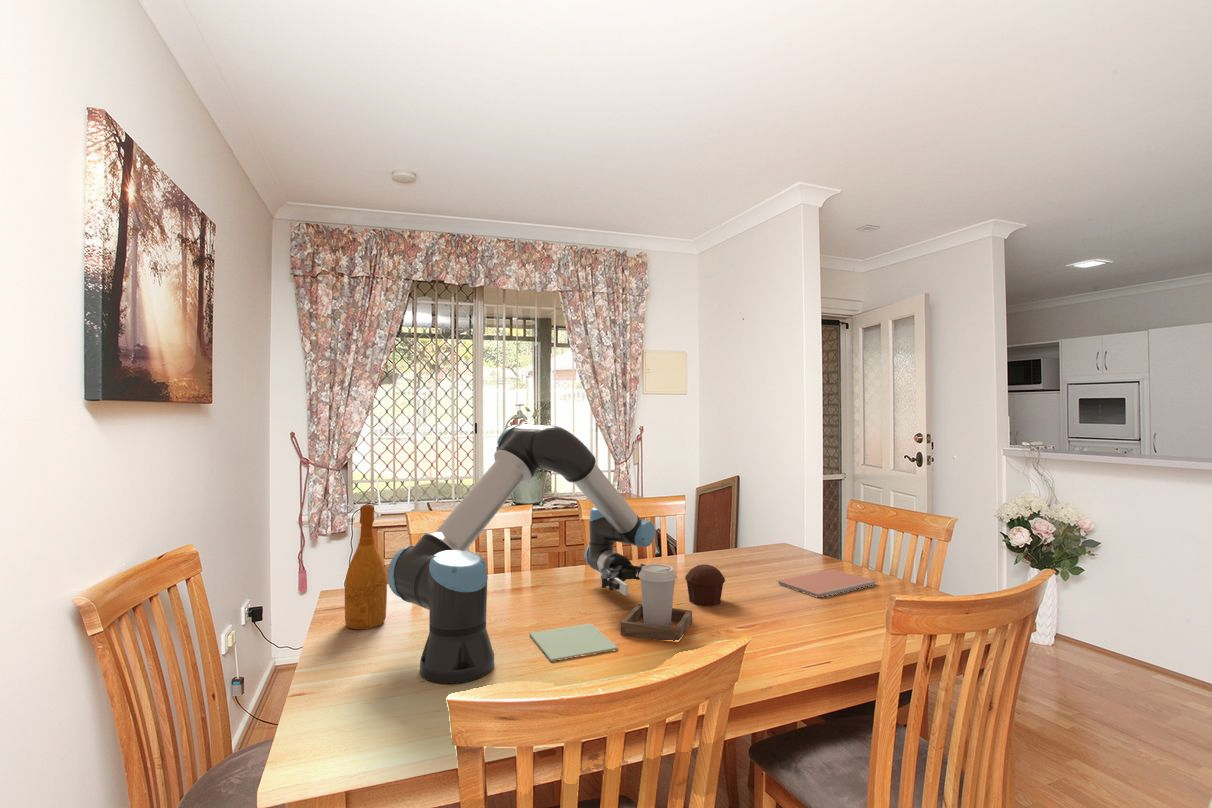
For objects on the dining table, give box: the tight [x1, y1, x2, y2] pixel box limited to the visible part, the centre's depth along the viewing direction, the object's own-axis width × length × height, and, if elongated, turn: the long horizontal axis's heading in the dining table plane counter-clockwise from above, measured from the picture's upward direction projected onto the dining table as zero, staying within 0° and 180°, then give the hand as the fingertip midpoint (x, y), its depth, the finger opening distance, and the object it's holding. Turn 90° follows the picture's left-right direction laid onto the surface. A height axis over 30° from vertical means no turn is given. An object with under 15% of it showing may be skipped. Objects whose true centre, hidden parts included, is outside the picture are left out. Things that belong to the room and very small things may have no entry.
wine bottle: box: [344, 504, 388, 630], centre depth 146 cm, size 10×10×30 cm
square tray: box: [619, 603, 693, 641], centre depth 145 cm, size 14×14×3 cm
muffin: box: [684, 564, 726, 607], centre depth 165 cm, size 12×11×10 cm
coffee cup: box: [639, 563, 678, 627], centre depth 145 cm, size 10×10×15 cm
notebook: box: [776, 568, 877, 598], centre depth 182 cm, size 27×17×2 cm, turn 121°
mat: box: [529, 623, 619, 662], centre depth 135 cm, size 16×16×1 cm
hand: (650, 587), depth 149 cm, fingers open, 13 cm apart
